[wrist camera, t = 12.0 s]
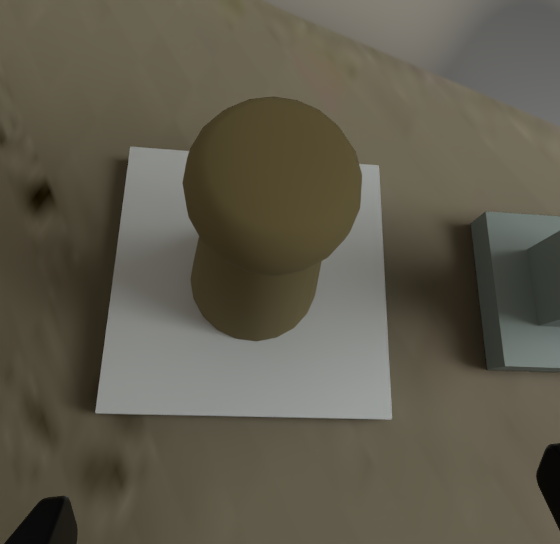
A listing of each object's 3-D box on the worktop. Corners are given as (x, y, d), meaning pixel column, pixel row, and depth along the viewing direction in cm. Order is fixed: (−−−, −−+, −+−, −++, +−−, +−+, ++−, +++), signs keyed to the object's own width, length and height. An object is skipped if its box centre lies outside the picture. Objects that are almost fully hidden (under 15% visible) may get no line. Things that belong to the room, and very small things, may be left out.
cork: (173, 241, 23) (131, 89, 12) (289, 206, 24) (339, 40, 14) (214, 360, 21) (204, 300, 11) (335, 316, 23) (430, 224, 12)
